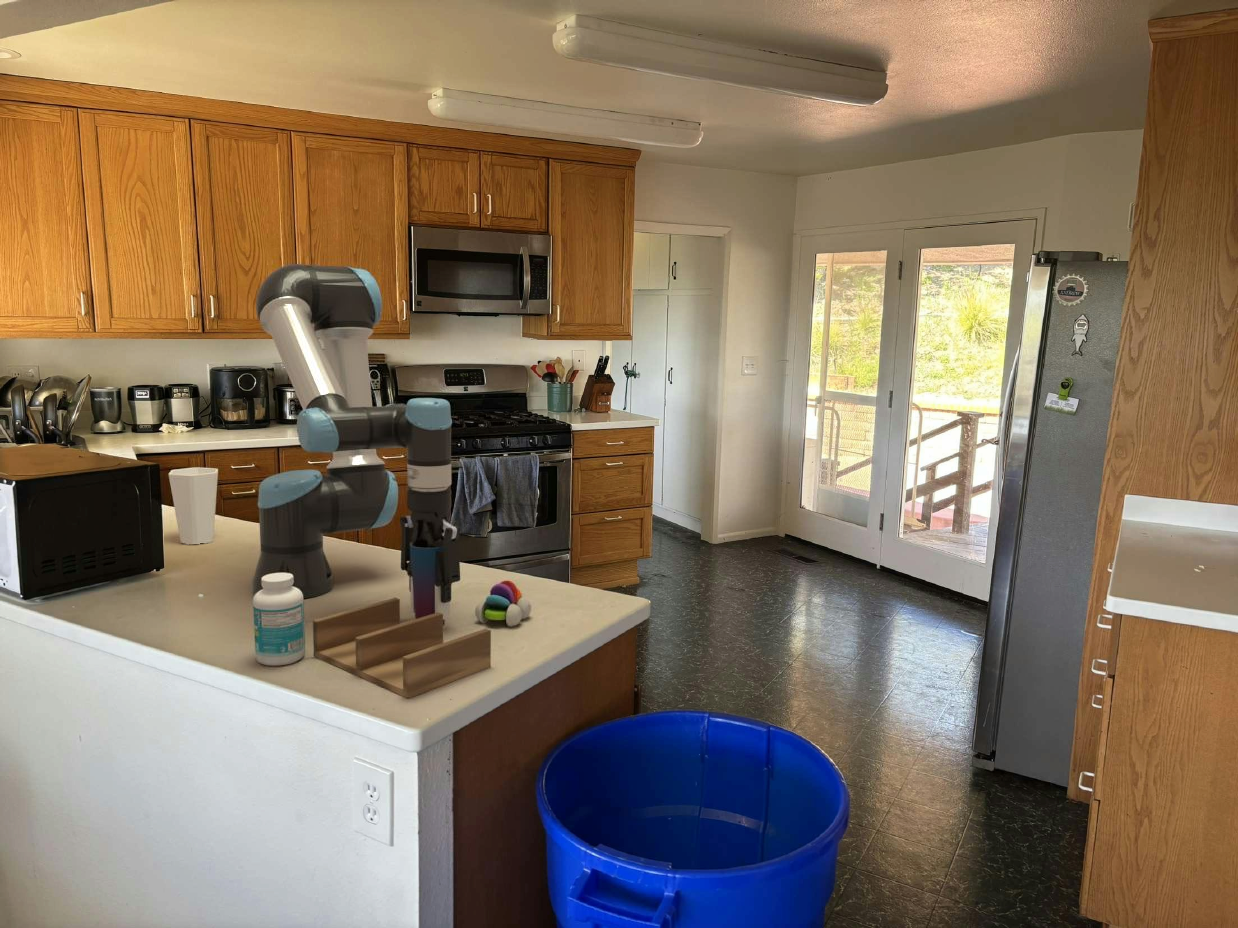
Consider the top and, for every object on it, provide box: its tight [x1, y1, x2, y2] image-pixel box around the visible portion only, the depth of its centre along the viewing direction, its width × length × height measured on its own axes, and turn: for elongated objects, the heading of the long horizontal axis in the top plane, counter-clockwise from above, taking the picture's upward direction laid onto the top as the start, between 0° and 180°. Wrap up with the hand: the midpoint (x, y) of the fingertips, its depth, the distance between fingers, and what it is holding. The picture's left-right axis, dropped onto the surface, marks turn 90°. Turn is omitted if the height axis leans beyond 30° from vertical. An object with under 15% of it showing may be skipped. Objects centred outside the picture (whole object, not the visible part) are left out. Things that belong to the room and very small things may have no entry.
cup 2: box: [410, 539, 446, 627], centre depth 154 cm, size 7×7×15 cm
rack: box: [312, 597, 492, 699], centre depth 137 cm, size 24×16×6 cm, turn 52°
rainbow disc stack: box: [474, 580, 532, 627], centre depth 158 cm, size 8×10×7 cm
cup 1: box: [168, 466, 219, 545], centre depth 206 cm, size 11×10×17 cm
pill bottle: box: [252, 573, 306, 667], centre depth 137 cm, size 8×7×14 cm
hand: (430, 614), depth 154 cm, fingers closed on cup 2, 6 cm apart
